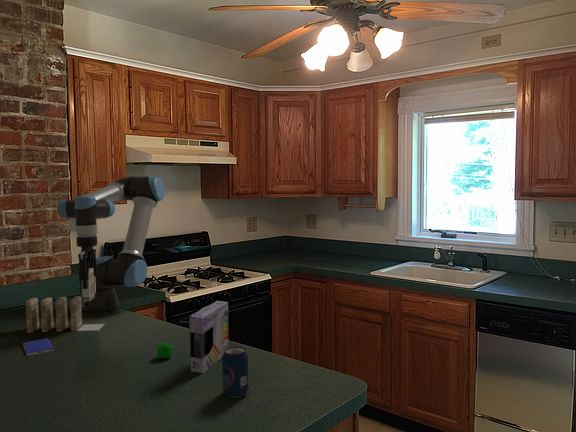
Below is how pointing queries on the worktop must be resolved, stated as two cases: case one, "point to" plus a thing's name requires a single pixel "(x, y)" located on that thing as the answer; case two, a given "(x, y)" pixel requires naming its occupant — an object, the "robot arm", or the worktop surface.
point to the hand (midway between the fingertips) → (89, 294)
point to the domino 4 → (75, 313)
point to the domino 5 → (91, 285)
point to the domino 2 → (47, 314)
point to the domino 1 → (32, 314)
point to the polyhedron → (164, 350)
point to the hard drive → (37, 346)
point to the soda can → (235, 372)
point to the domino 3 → (61, 313)
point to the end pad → (91, 327)
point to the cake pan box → (208, 336)
